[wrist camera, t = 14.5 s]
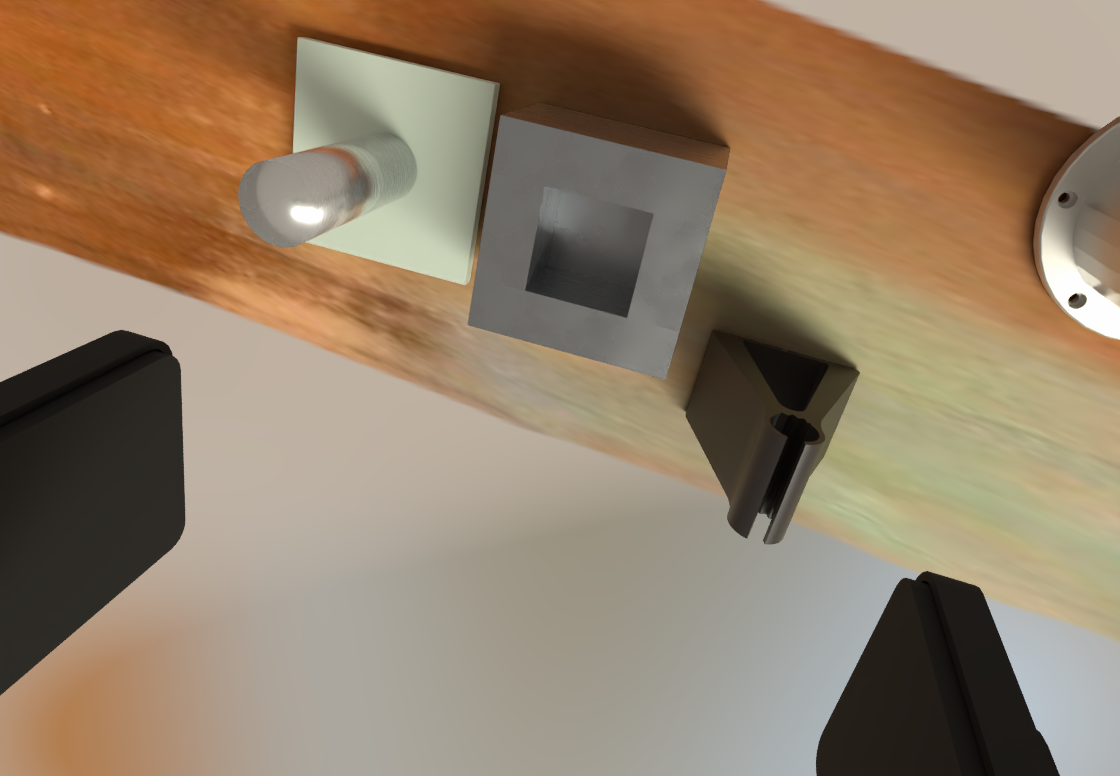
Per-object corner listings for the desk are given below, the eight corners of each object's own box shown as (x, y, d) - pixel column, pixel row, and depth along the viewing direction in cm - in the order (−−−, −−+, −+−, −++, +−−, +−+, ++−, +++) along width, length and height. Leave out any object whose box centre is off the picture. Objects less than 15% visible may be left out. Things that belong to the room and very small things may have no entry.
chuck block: (730, 147, 43) (726, 169, 36) (677, 328, 48) (665, 379, 41) (540, 102, 44) (500, 115, 37) (508, 283, 49) (467, 325, 42)
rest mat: (500, 83, 44) (495, 84, 43) (469, 280, 49) (464, 285, 48) (306, 37, 45) (297, 37, 44) (297, 234, 51) (289, 237, 50)
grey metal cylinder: (420, 140, 45) (320, 172, 35) (413, 207, 47) (315, 256, 36) (357, 124, 46) (238, 151, 35) (352, 191, 48) (238, 235, 37)
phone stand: (859, 370, 46) (893, 469, 36) (823, 453, 49) (844, 569, 38) (713, 328, 47) (703, 413, 37) (685, 412, 50) (668, 514, 39)
